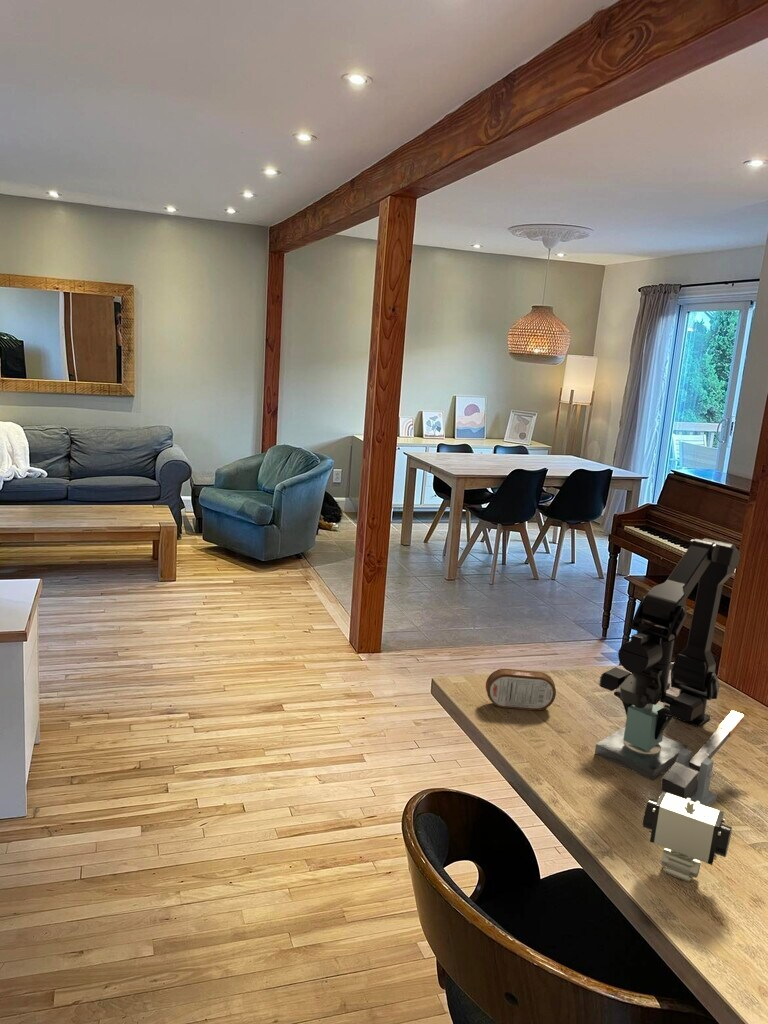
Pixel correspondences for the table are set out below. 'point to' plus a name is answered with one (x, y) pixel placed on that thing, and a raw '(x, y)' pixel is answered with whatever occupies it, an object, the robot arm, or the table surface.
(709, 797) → the lever stand
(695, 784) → the lever
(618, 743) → the press bed
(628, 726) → the block
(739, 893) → the table surface
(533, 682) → the tin
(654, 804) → the pneumatic valve
